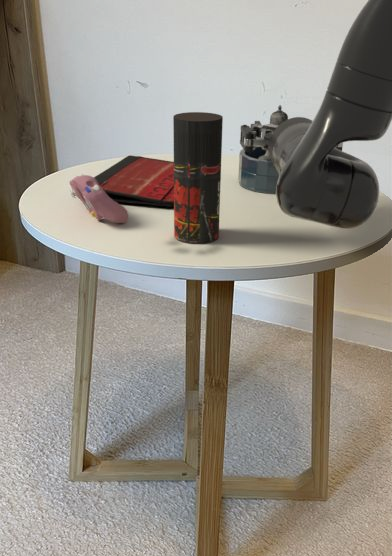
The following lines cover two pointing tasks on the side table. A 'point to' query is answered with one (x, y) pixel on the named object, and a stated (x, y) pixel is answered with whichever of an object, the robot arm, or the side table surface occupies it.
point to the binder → (139, 181)
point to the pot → (257, 172)
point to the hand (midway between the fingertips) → (284, 128)
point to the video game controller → (97, 199)
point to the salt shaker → (275, 119)
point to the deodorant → (197, 176)
